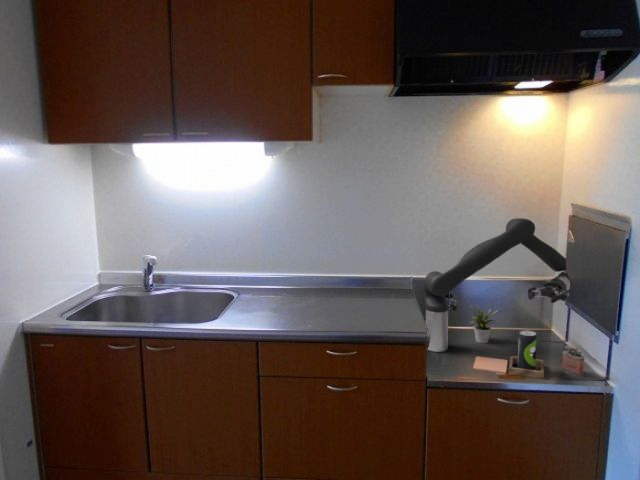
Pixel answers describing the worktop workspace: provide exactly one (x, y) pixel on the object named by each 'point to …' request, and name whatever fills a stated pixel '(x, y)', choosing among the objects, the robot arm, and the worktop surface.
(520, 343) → the beverage can
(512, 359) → the wooden tray
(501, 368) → the trivet
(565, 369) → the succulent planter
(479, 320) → the house plant
